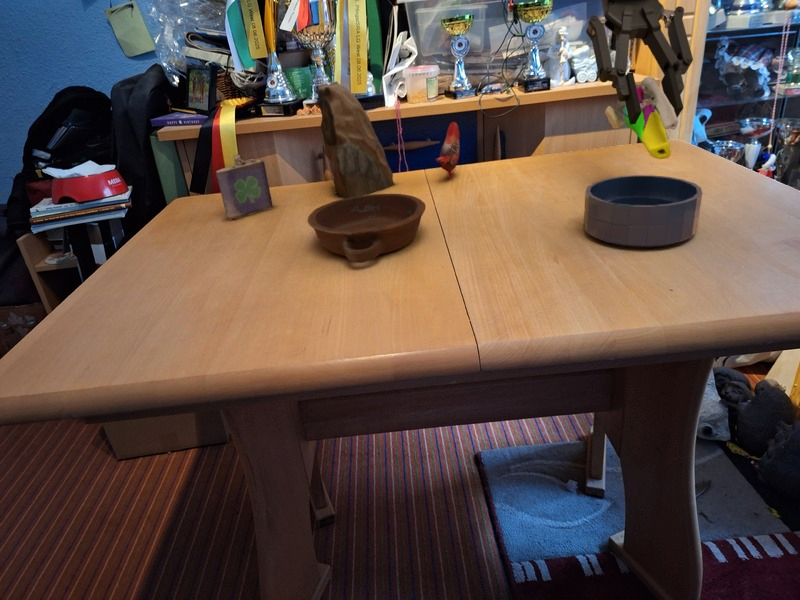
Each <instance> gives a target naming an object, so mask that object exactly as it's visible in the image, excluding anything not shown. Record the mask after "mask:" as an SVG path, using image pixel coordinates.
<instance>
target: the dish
mask: <svg viewBox="0 0 800 600" xmlns="http://www.w3.org/2000/svg"><path fill="white" fill-rule="evenodd" d="M426 206H427V205H426V203H425V202H424V201H423V200H422V199H421V198H419V197H417V196H414V195H409V194H404V193H403V194H402V193H375V194H365V195H362V196H358V197H352V198H343V199H342V198H341V199H337V200H334V201H331V202H329V203H326V204H323V205H321V206H319V207H316V208H315V209H313V211H312V212H311V213H310V214H309V216H308V217H307V223H308V225H309V226H310V227H311V228H312V229H313V230H314V233H315V234H316V237H317V238H318V240H319V242H320V244H321V245H322V246H323V247H324V248H325V249H326V250H327V251H329V252H331V253H332V254H333V253H334V254H336V255H339V256H342V257H343V256H344V257H346V258H347V260H348V261H350V262H351V263H357V264H358V263H366V262H369V261H371V260H373V259H376V258H377V257H378V256H379V255H384V254H387V253H390V252H393V251H396V250H399V249H401V248H403V247H404V246H406V245H408V244H409V243H410V242H411V241H412V240H414V238H415V237H416V235H417V233H418V230H419V226H420V223H421V219H422V216H424V213H425V211H426V208H427V207H426Z"/></svg>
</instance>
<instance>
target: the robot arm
mask: <svg viewBox="0 0 800 600" xmlns="http://www.w3.org/2000/svg"><path fill="white" fill-rule="evenodd" d="M600 3H601V8H602V13H603V15H602V16H599V17H598V16H597V15H591V16H590V17H589V20H588V23H587V26H586V29H585V33H586V35H587V36H588V38H589V39H590V41H591V44H592V48H593V49H592V50H593V53H594V58H595V64H596V69H597V73H598V74H597V75H598V79H599V82H601V83H605V84H606V83H607V82H611V87H612V88H613V89H614V90H615V91H616V98H617V97H618V99H617V101H618V100H619V101H620V102H623V101H625V104H626V108H627V113H628V118H629V123H630V124H636V122H637V120H638V118H639V116H640V114H641V112H642V111H641V107H640V102H639V98H638V93H637V89H636V80H635V75H634V72H633V71H632V72H631V71H630V72H627V70H628V59H629V47H630V40H633V39H638V40H641V41H642V43H643V45H644V46H647V47H648V49H649V51H650V53H651V54H652V56H653V58H654V59H655V62H656V63H657V65H658V66H659V68H660V70H661V72H662V74H663V77H662V79H661V81H660V84H661V89H662V91H663V92H664V94H665V95H666V97H667V99H668V100H669V102H670V104H671V105H672V107H673V108H674V112H675V114H676V117H677V118H678V117H679V116H680V114H681V112H682V111H683V109H684V104H683V100H682V96H681V94H682V93H683V91H684V90H685V83H684V80H683V76H684V75H686V74H687V71H688V70H689V68H690V66H691V64H692V62H693V61H694V58H693V53H692V51H691V50H692V49H691V46H690V42H689V38H688V35H687V31H686V27H685V23H684V20H683V19H684V14H685V8H684V7H683V6H681V5H679V6H676V7H675V9H674V10H671V9H665V6H664V5H663V4H662V3H661V2H660V0H600ZM660 20H662V21H663V23H664V28H665V29H667V36H668V40H667V37H666V36H665V35H664V33H663V31H662V24H661V23H660ZM606 29H608V30H609V31H610V32H612V33H613V34H614V35H615V36H616V37H615V53H614V54H615V55H614V66H613V62H612V57H611V53H610V48H609V41H608V38H607V33H606Z"/></svg>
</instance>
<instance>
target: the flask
mask: <svg viewBox="0 0 800 600" xmlns="http://www.w3.org/2000/svg"><path fill="white" fill-rule="evenodd" d="M231 159H233V160H234V161H233V163H232V164H233V165H231V166H228V167H224V168H221V169H218V170H216V172H215V175H216V179H217V183H218V187H219V191H220V195H221V199H222V203H223V207H224V212H225V217H226V219H227V220H229V221H232V220H238V219H242V218H244V217H248V216H251V215H254V214H256V213H261V212H264V211H267V210H271V209H273V208H274V205H273V200H272V194H271V190H270V185H269V180H268V174H267V170H266V164H265V161H264V160H261V159H253V158H251V159H247V160H244V159H242V158H241V156H240V154H235V155H233V156H231Z"/></svg>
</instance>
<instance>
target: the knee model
mask: <svg viewBox="0 0 800 600" xmlns="http://www.w3.org/2000/svg"><path fill="white" fill-rule="evenodd" d="M635 84H636V83H635ZM658 85H659V82H658V81H656V78H655V77H653V76H646V77H644V78H643V79H642V80H641V82H640V84H636V89H637V93H638V98H639V102H640V107H641V111H642V112H641V114H640V116H639V118H638V120H637V122H636V124H630V123H629V118H628V113H627V108H626V104H625V101H623V102H620V101H619V100H618V97H617V96H616V99H617V101H616V103H615V109H614V108H613V107H612V106H610V105H608V106H606V108H605V111H604V114H605V115H606V117H607V121H608V123H609V125H610V126H611V127H612V128H613V129H616V130H617V129H619V128H621V127H623V125H626V126H627V128H628V129H630V130H631V131H633V132H634V133H635V134H636V136H637V137H638V139H639V141H640V142H641V143H642V144H643V145H644V148H645V149H646V150H647V153H648V154H649V156H651V157H652V158H654V159H657V160H665V159H668V158H670V156H671V154H672V147H671V144H670V141H669V138H668V133H667V130H670V129H671V130H672V131H673V130H675V129H676V128H677V127H678V124H679V120H678V117H676V114H675V112H674V108H673V107H672V105H671V104H670V102H669V100H668V99H667V97H666V95H665V94H664V92H663V89H662V88H660V87H659V86H658ZM619 113H620V114H619ZM622 115H624V117H625V119H623V116H622Z"/></svg>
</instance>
